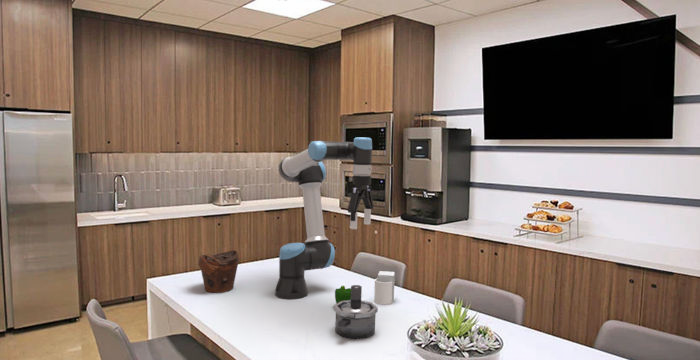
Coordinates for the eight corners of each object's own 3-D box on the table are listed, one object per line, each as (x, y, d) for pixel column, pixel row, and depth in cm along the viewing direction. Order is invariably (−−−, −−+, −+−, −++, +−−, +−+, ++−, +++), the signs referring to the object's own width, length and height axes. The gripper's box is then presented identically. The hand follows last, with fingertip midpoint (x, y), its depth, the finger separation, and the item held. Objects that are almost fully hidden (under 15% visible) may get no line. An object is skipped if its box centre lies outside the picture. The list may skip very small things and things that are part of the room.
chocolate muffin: (188, 291, 221) (189, 253, 220) (216, 281, 240) (216, 246, 239) (220, 298, 215) (221, 258, 213) (245, 286, 233) (246, 250, 232)
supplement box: (392, 303, 212) (393, 275, 211) (376, 302, 214) (377, 274, 213) (394, 298, 220) (395, 271, 219) (378, 297, 221) (379, 270, 220)
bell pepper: (343, 302, 212) (344, 280, 211) (357, 307, 206) (357, 285, 205) (329, 306, 206) (330, 284, 205) (343, 312, 200) (343, 288, 200)
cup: (400, 299, 219) (400, 278, 218) (386, 306, 209) (387, 283, 208) (384, 295, 223) (385, 274, 223) (370, 302, 214) (371, 280, 213)
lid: (336, 312, 176) (336, 288, 175) (348, 304, 186) (348, 281, 186) (363, 317, 172) (364, 292, 171) (374, 308, 182) (375, 284, 181)
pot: (321, 338, 172) (322, 312, 171) (350, 317, 194) (350, 294, 193) (360, 347, 166) (361, 320, 165) (385, 324, 187) (386, 301, 186)
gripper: (357, 177, 182) (356, 231, 183) (381, 174, 204) (380, 223, 206) (340, 176, 185) (338, 230, 187) (365, 173, 208) (364, 221, 209)
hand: (360, 226), depth 196 cm, fingers open, 13 cm apart
